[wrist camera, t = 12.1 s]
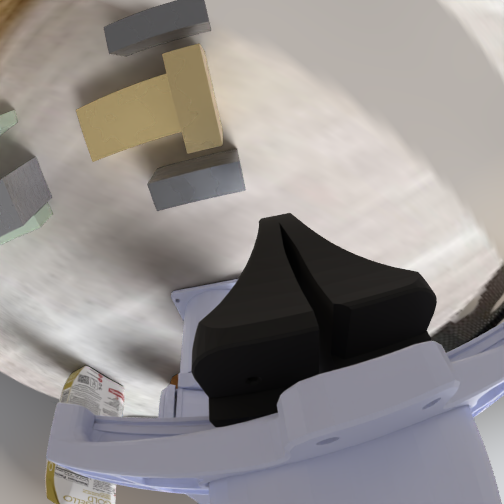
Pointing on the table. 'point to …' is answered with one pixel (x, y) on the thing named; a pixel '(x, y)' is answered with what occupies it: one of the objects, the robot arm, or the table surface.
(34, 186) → the matte gray brick
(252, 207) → the table surface
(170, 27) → the socket
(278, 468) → the robot arm
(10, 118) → the pale green c-shaped piece
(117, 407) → the juice carton
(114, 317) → the table surface
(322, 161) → the table surface
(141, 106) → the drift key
